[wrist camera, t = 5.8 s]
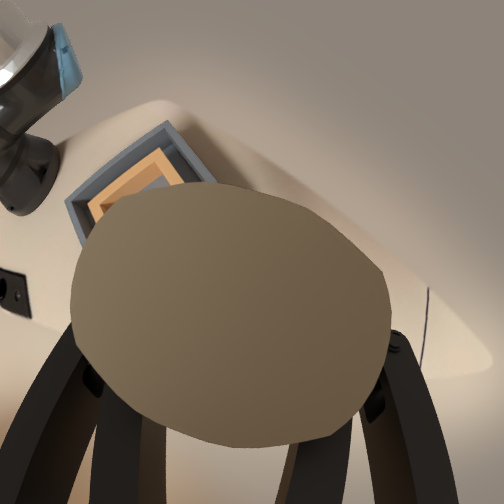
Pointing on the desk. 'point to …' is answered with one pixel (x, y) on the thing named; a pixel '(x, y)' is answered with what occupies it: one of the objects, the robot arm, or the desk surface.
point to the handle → (230, 314)
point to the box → (135, 175)
